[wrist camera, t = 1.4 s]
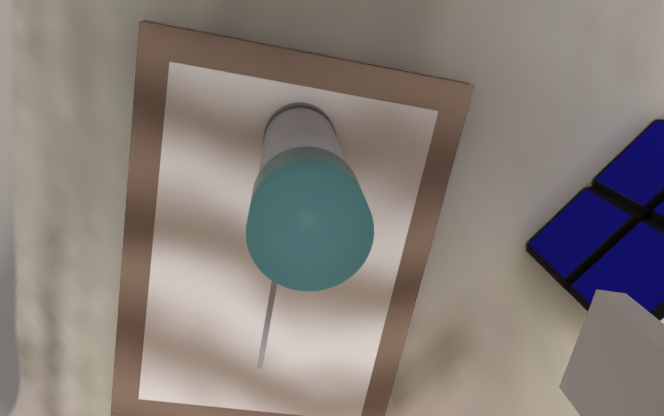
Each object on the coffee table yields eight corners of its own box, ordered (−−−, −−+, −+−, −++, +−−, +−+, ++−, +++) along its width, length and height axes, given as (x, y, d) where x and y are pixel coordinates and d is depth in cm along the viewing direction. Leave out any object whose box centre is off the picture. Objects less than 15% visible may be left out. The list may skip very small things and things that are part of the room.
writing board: (144, 20, 26) (137, 21, 24) (467, 83, 28) (475, 86, 27) (115, 403, 33) (109, 418, 31) (375, 429, 35) (378, 443, 34)
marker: (306, 86, 26) (324, 146, 14) (350, 144, 27) (398, 244, 16) (247, 131, 27) (218, 223, 15) (292, 187, 28) (298, 313, 16)
